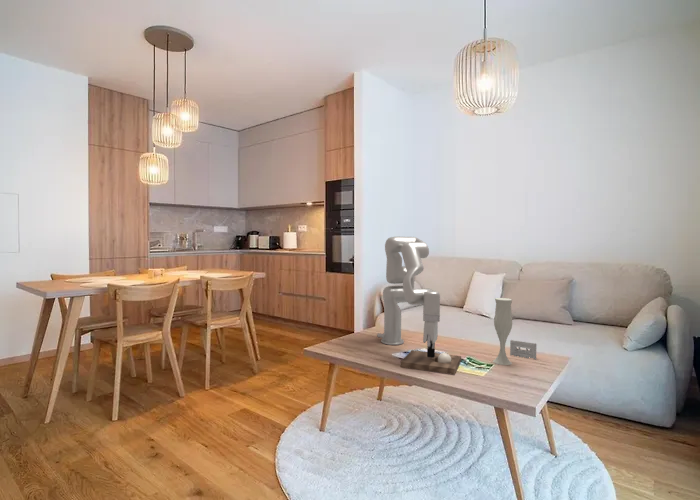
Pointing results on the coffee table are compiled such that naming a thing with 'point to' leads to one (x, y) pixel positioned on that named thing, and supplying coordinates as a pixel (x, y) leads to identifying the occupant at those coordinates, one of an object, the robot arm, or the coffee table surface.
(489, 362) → the coffee table surface
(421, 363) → the board
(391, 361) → the coffee table surface
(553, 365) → the coffee table surface
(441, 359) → the ball
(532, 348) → the cassette
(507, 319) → the vase
